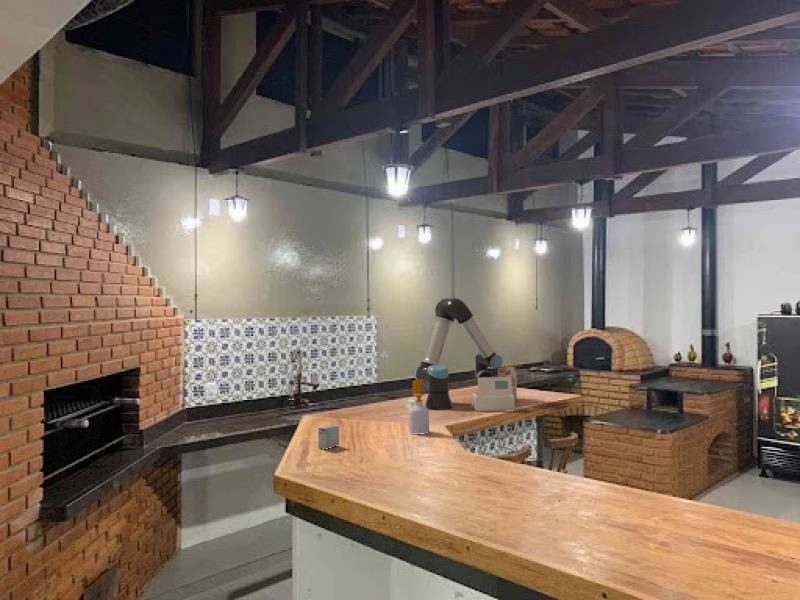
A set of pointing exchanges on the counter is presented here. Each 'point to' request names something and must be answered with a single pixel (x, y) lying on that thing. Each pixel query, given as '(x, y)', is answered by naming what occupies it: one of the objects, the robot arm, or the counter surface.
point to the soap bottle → (418, 411)
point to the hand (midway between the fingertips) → (492, 382)
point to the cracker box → (510, 372)
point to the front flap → (495, 386)
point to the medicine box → (328, 436)
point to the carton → (493, 402)
